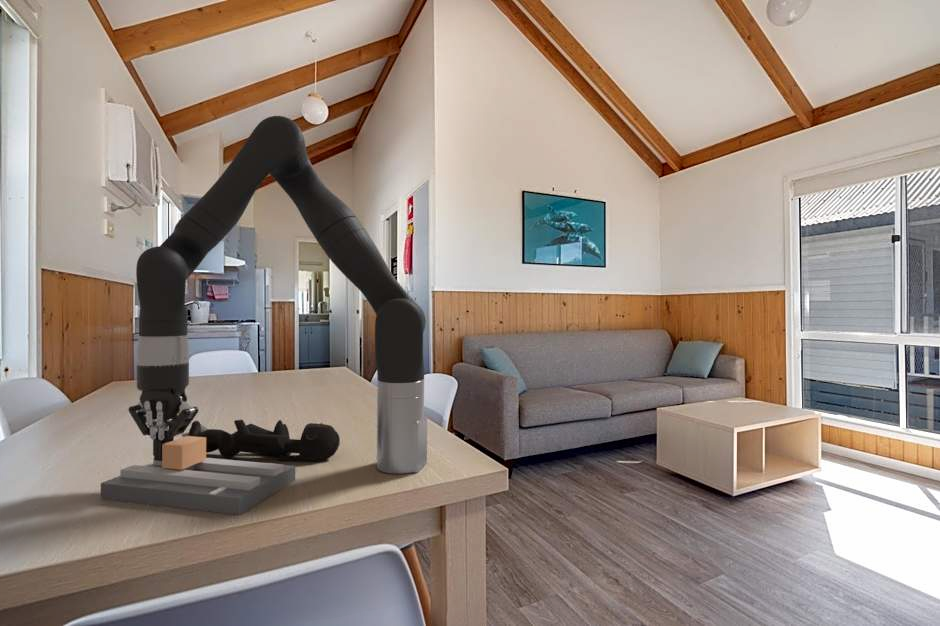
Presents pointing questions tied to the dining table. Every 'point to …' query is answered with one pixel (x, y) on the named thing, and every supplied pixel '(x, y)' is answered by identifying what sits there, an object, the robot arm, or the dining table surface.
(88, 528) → the dining table surface
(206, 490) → the twin slider track
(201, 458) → the block
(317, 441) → the figurine
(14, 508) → the dining table surface
